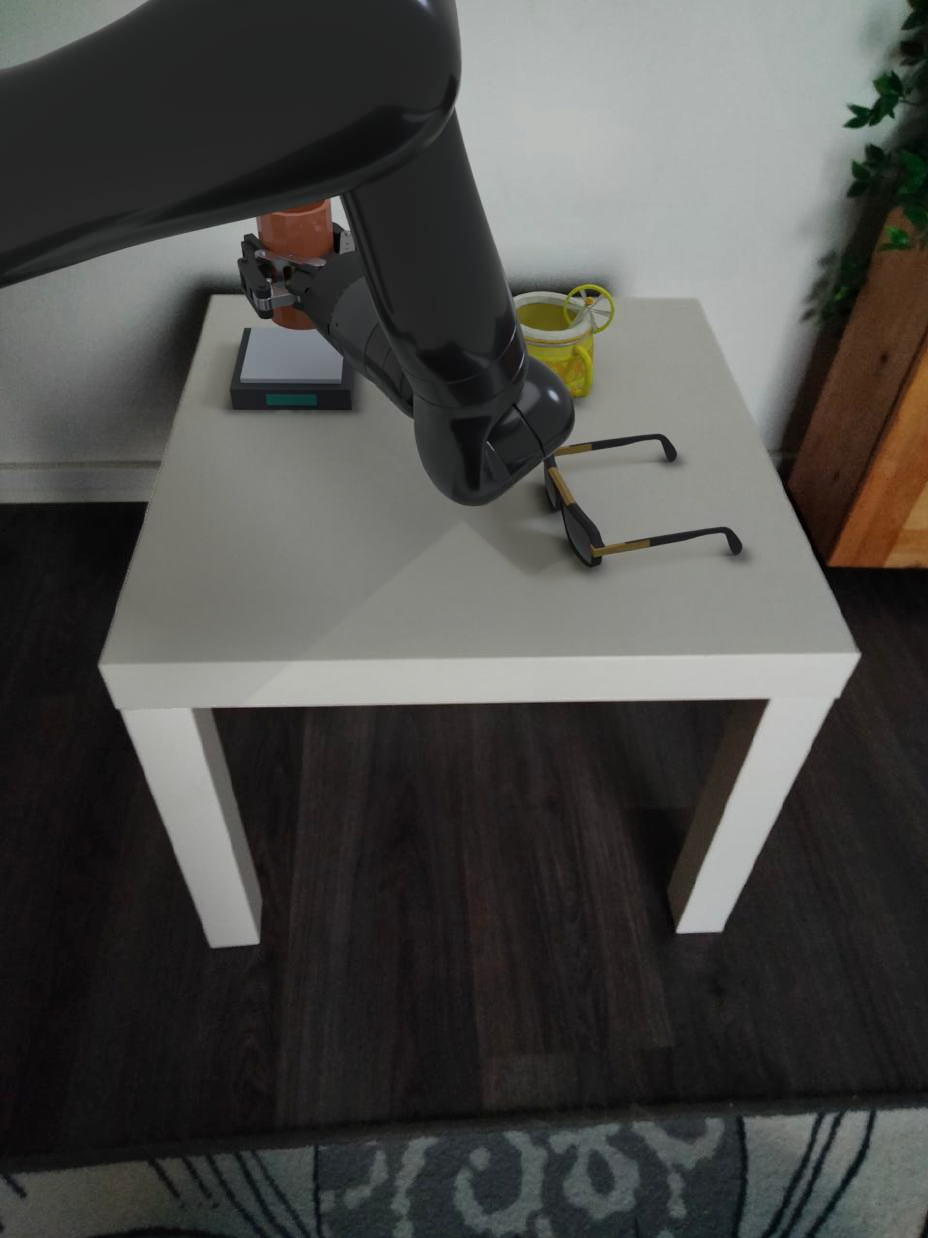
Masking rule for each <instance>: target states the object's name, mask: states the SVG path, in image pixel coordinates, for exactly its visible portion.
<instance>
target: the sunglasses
mask: <svg viewBox="0 0 928 1238" xmlns="http://www.w3.org/2000/svg"><path fill="white" fill-rule="evenodd" d="M654 440H657V441H660V443H661V446H662V448H663V452H664V455H665V457H666V459H667V460H668V461H669V462H670V463H671V462H675V461H676V460H677V457H678V451H677V449H676V448H675V446H674V444H673V443H672V442H671V440H670V439H669V438H668V437H667V436H666V435H665V434H663V433H648V434H640V435H632V436H631V435H630V436H623V437H615V438H609V439H602V440H594V441H587V442H581V443H574V444H569V445H564V446H563V445H562V446H561V447H559V448H558V449H557V450H556V451H555V452H554V453H553V454H551V455H550V456H549V457H548V458H546V459H544V461H543V462H542V463H543V478H544V486H545V494H546V498H547V500H548V503H549V507H550V508H551V509H552V511H553V512H559V511H560V513H561V517H562V522H563V526H564V530H565V533H566V537H567V540H568V542H569V544H570V546H571V549H572V550H573V552H574V554H575V555H576V556H577V558H578V559H579V561H581V563H582V564H583V565H584V566H586V567H587V568H594V567H597V566H600V565H601V564H602V561H603V557H604V556H609V555H615V554H619V553H620V554H621V553H626V552H627V553H628V552H633V551H638V550H643V549H648V548H653V547H658V546H664V545H669V544H674V543H680V542H685V541H688V540H693V539H696V538H699V537H704V536H708V535H715V534H724V535H725V538H726V541H727V544H728V547H729V549H730V552H731V553H732V555H735V556H737V555H739V554H740V553H741V552H742V550H743V543H742V541H741V540H740V538H739V536H738V535H737V534H736V533H735V531H733V530H732V529H731V528H730V527H728V526H716V527H709V528H708V527H707V528H701V529H696V530H695V529H694V530H688V531H682V532H676V533H670V534H663V535H658V536H657V535H656V536H651V537H645V538H640V539H634V540H629V541H624V542H618V543H614V544H607V545H606V544H605V543H604V542H603V538H602V535H601V532H600V530H599V528H598V526H596V524H595V523H594V522H593V521H592V520H591V518H590V517H589V516H588V515H587V514H586V512H585V511H584V510H583V509H582V508H581V507H580V506H579V504H578V503H577V501H576V500H575V499H574V496H573V494H572V493H571V490H570V489H569V488H568V486H567V483H566V482H565V480H564V478H563V476H562V474H561V473H560V471H559V468H558V464H557V462H556V457H561V456H567V455H568V456H569V455H575V454H582V453H587V452H593V451H599V450H606V449H613V448H619V447H625V446H628V445H631V444H635V443H640V442H646V441H654Z"/></svg>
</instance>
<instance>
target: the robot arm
mask: <svg viewBox="0 0 928 1238" xmlns="http://www.w3.org/2000/svg"><path fill="white" fill-rule="evenodd" d="M461 38H462V37H461V30H460V23H459V15H458V8H457V2H456V0H146V1H145V2H143V3H141V4H140V5H139V6H137V7H136V8H134V9H132V10H130V12H128V13H126V14H124V15H122V17H120V18H118V19H116V20H114V21H112V22H110V23H109V24H107V25H105V26H103V27H101V28H100V29H98V30H95V31H92V32H91V33H89V34H87V35H85V36H83V37H80V38H78V39H76V40H74V41H71V42H69V43H67V44H65V45H63V46H60V47H59V48H56V49H54V50H52V51H50V52H47V53H46V54H43V55H40V56H39V57H36V58H33V59H30V60H27V61H24V62H21V63H18V64H15V65H12V66H8V67H3V68H0V290H2V289H6V288H9V287H11V286H14V285H18V284H22V283H23V282H26V281H29V280H33V279H35V278H39V277H42V276H45V275H48V274H51V273H53V272H56V271H60V270H63V269H66V268H69V267H72V266H76V265H78V264H82V263H84V262H87V261H90V260H93V259H96V258H99V257H102V256H106V255H109V254H112V253H115V252H119V251H121V250H125V249H128V248H132V247H135V246H139V245H140V246H141V245H143V244H147V243H150V242H151V243H152V242H155V241H159V240H163V239H167V238H171V237H175V236H178V235H183V234H187V233H188V234H189V233H192V232H196V231H201V230H205V229H209V228H214V227H218V226H223V225H227V224H233V223H236V222H240V221H245V220H249V219H253V218H256V217H259V216H263V215H267V214H272V213H276V212H280V211H284V210H288V209H292V208H297V207H301V206H305V205H309V204H313V203H316V202H319V201H323V200H326V199H330V198H331V199H333V198H337V197H339V200H340V203H341V206H342V210H343V212H344V215H345V219H346V222H347V224H348V228H349V230H345V228H343V227H342V226H341V225H340V224H338V223H337V222H334V221H332V226H333V240H334V252H333V253H329V254H325V255H323V256H320V257H312V258H308V257H305V256H302V255H299V254H295V253H292V252H289V251H285V252H283V253H282V254H277V253H274V252H271V251H269V250H268V248H267V247H266V246H265V245H264V244H263V243H262V242H261V241H260V240H259V237H257V236H256V235H255V234H254V233H253V232H251V233H246V234H245V233H244V234H243V240H242V241H240V247H241V254H242V257H240V258H238V259H237V260H236V264H237V268H238V272H239V277H240V288H241V292H242V293H243V294H244V296H245V298H246V299H247V301H248V302H249V304H250V305H251V307H252V309H253V310H254V312H255V313H256V315H257V316H258V318H259V319H260V320H271V318H273V317H274V311H273V309H275V308H278V307H283V306H288V305H291V306H292V307H293V308H294V309H295V310H298V311H301V312H303V313H305V314H307V316H308V317H309V319H310V321H311V322H312V324H313V326H314V327H315V329H316V330H317V331H318V332H319V333H320V334H321V335H322V336H323V337H324V338H325V339H326V340H327V341H328V342H329V343H330V345H331V346H332V347H333V348H334V349H335V350H336V351H337V352H338V353H339V354H340V355H341V356H342V357H343V358H344V359H345V360H346V361H347V362H348V363H349V364H350V365H351V366H352V367H353V368H354V369H355V372H357V373H358V374H359V375H361V376H362V377H364V378H365V379H367V380H368V381H370V382H371V383H372V384H374V385H375V386H376V388H377V389H379V391H381V392H382V393H383V394H384V396H386V398H387V399H388V400H389V401H390V402H391V403H392V404H393V405H394V406H395V407H396V408H398V410H399V411H400V412H401V413H403V414H404V415H406V416H407V417H408V418H409V419H412V420H413V432H414V439H415V445H416V449H417V453H418V456H419V459H420V463H421V465H422V467H423V468H424V471H425V473H426V475H427V477H428V478H429V480H430V481H431V482H432V484H433V485H434V487H435V488H436V489H437V490H438V491H439V492H440V493H441V494H442V495H443V496H444V497H445V498H447V499H449V500H450V501H452V502H454V503H456V504H458V505H462V506H465V507H482V506H486V505H489V504H492V503H493V502H495V501H497V500H498V499H499V498H501V497H502V496H504V495H505V494H506V493H507V492H508V491H510V490H511V489H512V488H513V487H514V486H516V485H517V484H518V483H519V482H520V481H521V480H523V479H524V478H525V477H526V476H528V474H530V473H531V472H532V471H534V469H536V468H537V467H538V466H539V465H540V464H542V463H543V461H544V459H546V458H548V457H549V456H550V455H551V454H553V453H554V452H555V451H556V450H557V449H558V448H559V447H563V445H564V444H565V443H566V442H567V440H568V439H569V438H570V436H571V434H572V433H573V430H574V427H575V423H576V408H575V403H574V400H573V399H574V398H573V399H572V396H571V394H570V392H569V390H568V388H567V386H566V385H565V383H564V382H563V381H562V380H561V378H560V377H559V376H558V375H557V374H556V373H555V372H554V371H553V370H552V369H551V368H549V367H548V366H547V365H546V364H544V363H543V362H541V361H540V360H538V359H536V358H535V357H533V356H531V355H529V354H528V350H527V346H526V342H525V338H524V335H523V332H522V328H521V325H520V321H519V318H518V314H517V311H516V307H515V303H514V300H513V298H514V296H513V294H512V291H511V288H510V284H509V281H508V277H507V275H506V271H505V269H504V265H503V262H502V259H501V256H500V254H499V249H498V247H497V244H496V241H495V238H494V234H493V232H492V229H491V226H490V223H489V219H488V217H487V213H486V211H485V208H484V205H483V202H482V199H481V195H480V193H479V190H478V186H477V182H476V179H475V176H474V172H473V169H472V166H471V163H470V158H469V156H468V152H467V148H466V145H465V140H464V136H463V133H462V129H461V125H460V120H459V117H458V113H457V107H456V104H457V101H458V98H459V95H460V91H461V86H462V85H461V84H462V74H463V51H462V50H463V49H462V39H461ZM272 266H274V267H275V268H276V272H277V275H274V274H273V270H272ZM293 267H294V268H295V269H294V272H293Z"/></svg>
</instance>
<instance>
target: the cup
mask: <svg viewBox="0 0 928 1238" xmlns="http://www.w3.org/2000/svg"><path fill="white" fill-rule="evenodd" d="M332 222H333V213H332V198H330V199H326V200H323V201H319V202H316V203H313V204H309V205H305V206H301V207H297V208H292V209H288V210H284V211H280V212H276V213H272V214H267V215H263V216H259V217H255V223H256V228H257V229H256V230H257V236H258V237H257V238H258V239H259V240H260V241H261V242H262V243H263V244H264V245H265V246H266V247H267V248H268V250H269V251H271V252H274V253H277V254H282V253H283V252H285V251H289V252H292V253H295V254H299V255H302V256H305V257H308V258H312V257H320V256H323V255H325V254H329V253H333V252H334V240H333V226H332ZM294 269H295V268H294V267H293V272H294ZM272 270H273V274H274V275H277V272H276V268H275V267H274V266H272ZM273 311H274V317H273V318H271V319H270V320H271V321H272V322H273V323H274V324H275V325H277V326H279V327H280V328H287V329H292V330H312V329H315V327H314V326H313V324H312V322H311V321H310V319H309V317H308V316H307V314H305V313H303V312H301V311H298V310H295V309H294V308H293V307H292V306H291V305H288V306H283V307H278V308H275V309H273Z"/></svg>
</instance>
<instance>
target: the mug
mask: <svg viewBox="0 0 928 1238" xmlns="http://www.w3.org/2000/svg"><path fill="white" fill-rule="evenodd" d="M586 290H594V291H597V292H599V293H600V294H599V296H598V297H597V298H596V299H595V300H594V298H593V297H592V296H588V297H587V292H586ZM577 292H579V293H580V295H581V298H582V300H583V302H584V303H583V302H582V301H581V300H579V299H577V298H575V297H572V296H573V295H574V294H576V293H577ZM605 298H606V299H607V300H608V302H609V306H610V310H603V309H594V307H595V306H596V305H598V304H599V303H600V302H601V301H602V300H603V299H605ZM513 300H514V303H515V307H516V311H517V314H518V318H519V321H520V325H521V328H522V332H523V335H524V338H525V342H526V346H527V350H528V354H529V355H531V356H533V357H535V358H536V359H538V360H540V361H541V362H543V363H544V364H546V365H547V366H548V367H549V368H551V369H552V370H553V371H554V372H555V373H556V374H557V375H558V376H559V377H560V378H561V380H562V381H563V382H564V383H565V385H566V386H567V388H568V390H569V392H570V394H571V396H572V399H575V398H578V399H584V398H586V397H587V396H588V395H589V394H590V392H591V389H592V385H593V381H594V365H593V364H594V335H595V334H598V333H601V332H603V331H605V330H606V329H607V328H608V327H609V326H610V325H611V323H612V321H613V318H614V317H615V316H614V315H615V311H616V309H615V303H614V299H613V297H612V296H611V295H610V293H609V291H607V290H606V289H605V288H604V287H601V286H599V285H596V284H589V283H587V284H583V285H579V286H576V287H575V288H573V289H572V290H571V291H570V292H569V293H568V294H563V293H559V292H553V291H543V290H542V291H532V292H531V291H530V292H526V293H521V294H518V295H516V296H513ZM594 314H598V315H601V316H603V317H606V318H609V319H608V320H607V321H606V323H605V324H603V325H602V326H599V327H598V324H597V323H596V321H595V316H594Z"/></svg>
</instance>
